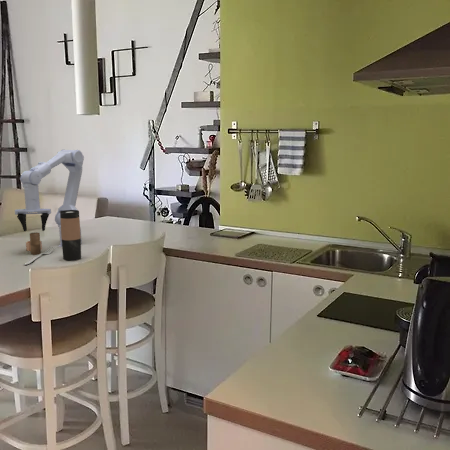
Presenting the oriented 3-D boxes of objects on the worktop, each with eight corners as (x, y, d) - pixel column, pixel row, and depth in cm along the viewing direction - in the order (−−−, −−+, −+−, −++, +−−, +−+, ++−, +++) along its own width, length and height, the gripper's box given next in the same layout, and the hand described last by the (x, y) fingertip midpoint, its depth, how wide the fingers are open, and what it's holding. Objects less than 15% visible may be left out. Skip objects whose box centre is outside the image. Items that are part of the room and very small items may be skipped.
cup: (43, 248, 241) (42, 240, 240) (39, 252, 235) (38, 243, 234) (29, 249, 240) (28, 240, 240) (25, 252, 234) (24, 243, 234)
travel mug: (83, 256, 226) (81, 209, 223) (79, 261, 219) (76, 212, 215) (65, 256, 226) (62, 209, 222) (60, 261, 218) (57, 212, 215)
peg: (41, 252, 232) (40, 232, 230) (39, 254, 228) (38, 234, 226) (32, 253, 231) (30, 232, 230) (30, 255, 227) (28, 234, 226)
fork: (21, 264, 212) (20, 260, 211) (49, 250, 235) (48, 246, 235) (28, 264, 211) (28, 260, 211) (55, 250, 235) (55, 247, 235)
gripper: (11, 200, 222) (14, 232, 224) (47, 200, 223) (49, 232, 225) (16, 198, 229) (19, 229, 231) (51, 197, 230) (53, 229, 232)
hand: (34, 230), depth 229 cm, fingers open, 7 cm apart
